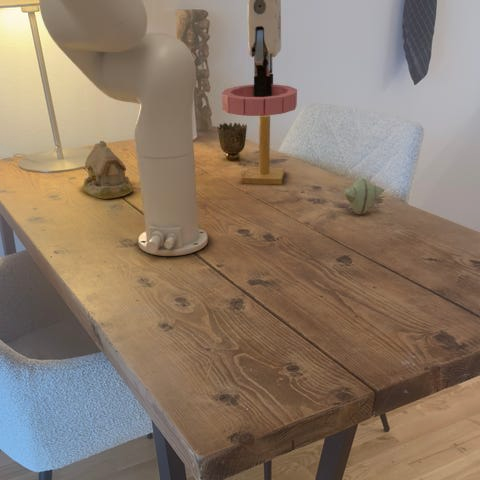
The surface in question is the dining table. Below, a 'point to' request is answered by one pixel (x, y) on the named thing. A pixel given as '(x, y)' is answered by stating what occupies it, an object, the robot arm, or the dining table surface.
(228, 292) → the dining table surface
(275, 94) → the pink ring
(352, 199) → the green seashell
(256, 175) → the stand
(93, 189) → the ceramic model
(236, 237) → the dining table surface
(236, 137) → the cup
